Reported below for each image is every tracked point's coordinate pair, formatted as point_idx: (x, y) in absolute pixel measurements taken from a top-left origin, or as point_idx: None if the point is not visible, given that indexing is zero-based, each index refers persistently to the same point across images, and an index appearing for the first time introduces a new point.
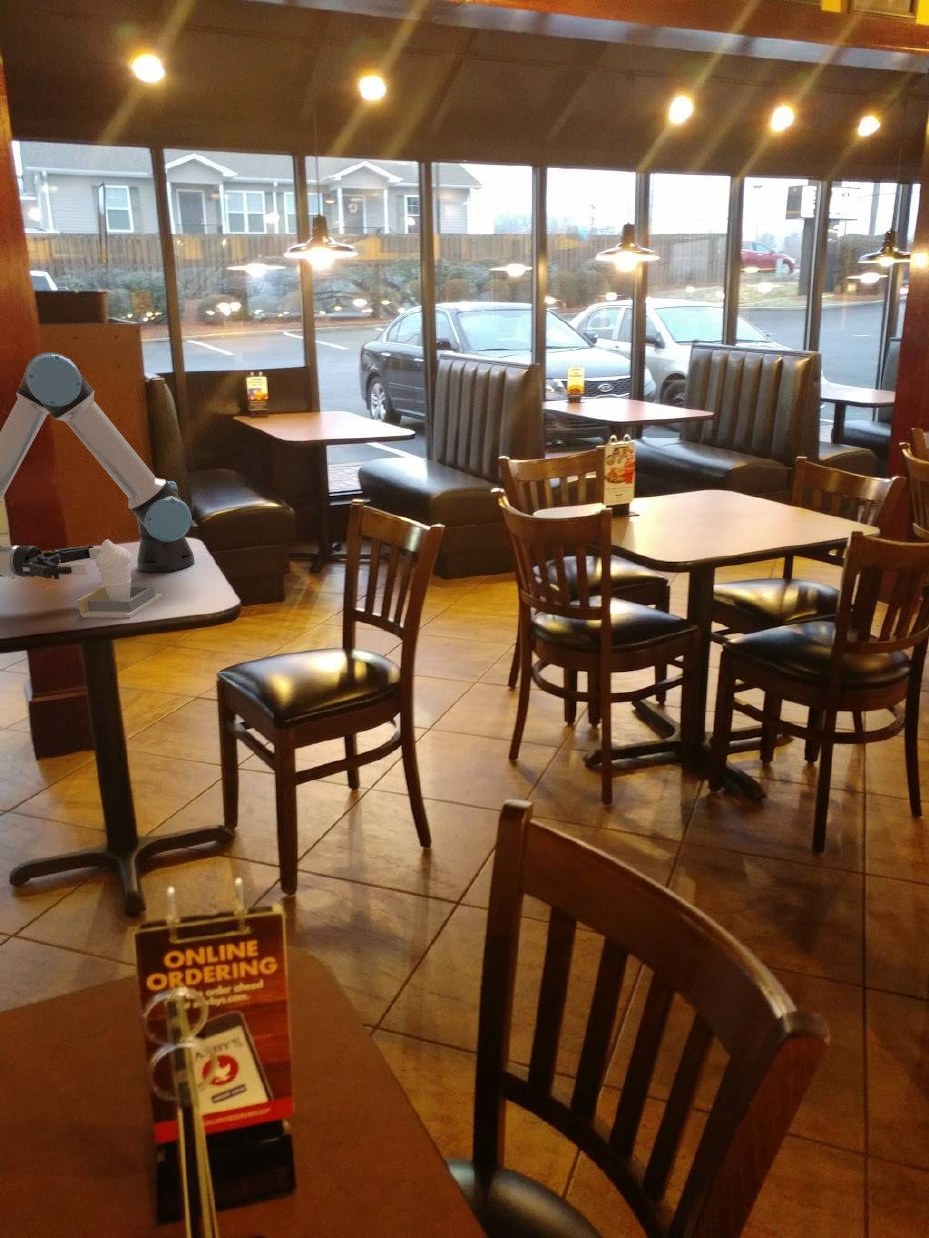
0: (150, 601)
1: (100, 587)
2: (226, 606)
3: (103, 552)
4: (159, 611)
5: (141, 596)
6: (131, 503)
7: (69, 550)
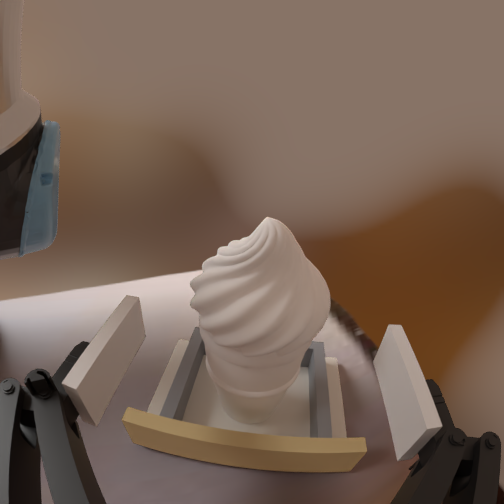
0: None
1: (215, 438)
2: None
3: (309, 269)
4: None
5: None
6: None
7: (13, 501)
